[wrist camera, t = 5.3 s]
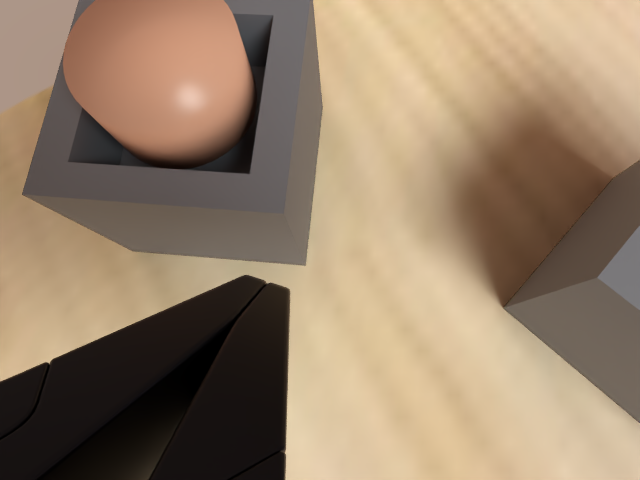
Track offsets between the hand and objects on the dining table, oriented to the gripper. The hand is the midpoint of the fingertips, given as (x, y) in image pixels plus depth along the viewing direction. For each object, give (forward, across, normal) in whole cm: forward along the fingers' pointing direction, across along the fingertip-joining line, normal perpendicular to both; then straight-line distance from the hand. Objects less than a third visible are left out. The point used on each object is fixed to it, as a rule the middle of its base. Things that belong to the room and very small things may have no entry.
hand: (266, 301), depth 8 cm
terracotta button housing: (+14, +7, +5) cm, 17 cm away
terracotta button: (+9, +7, 0) cm, 12 cm away
